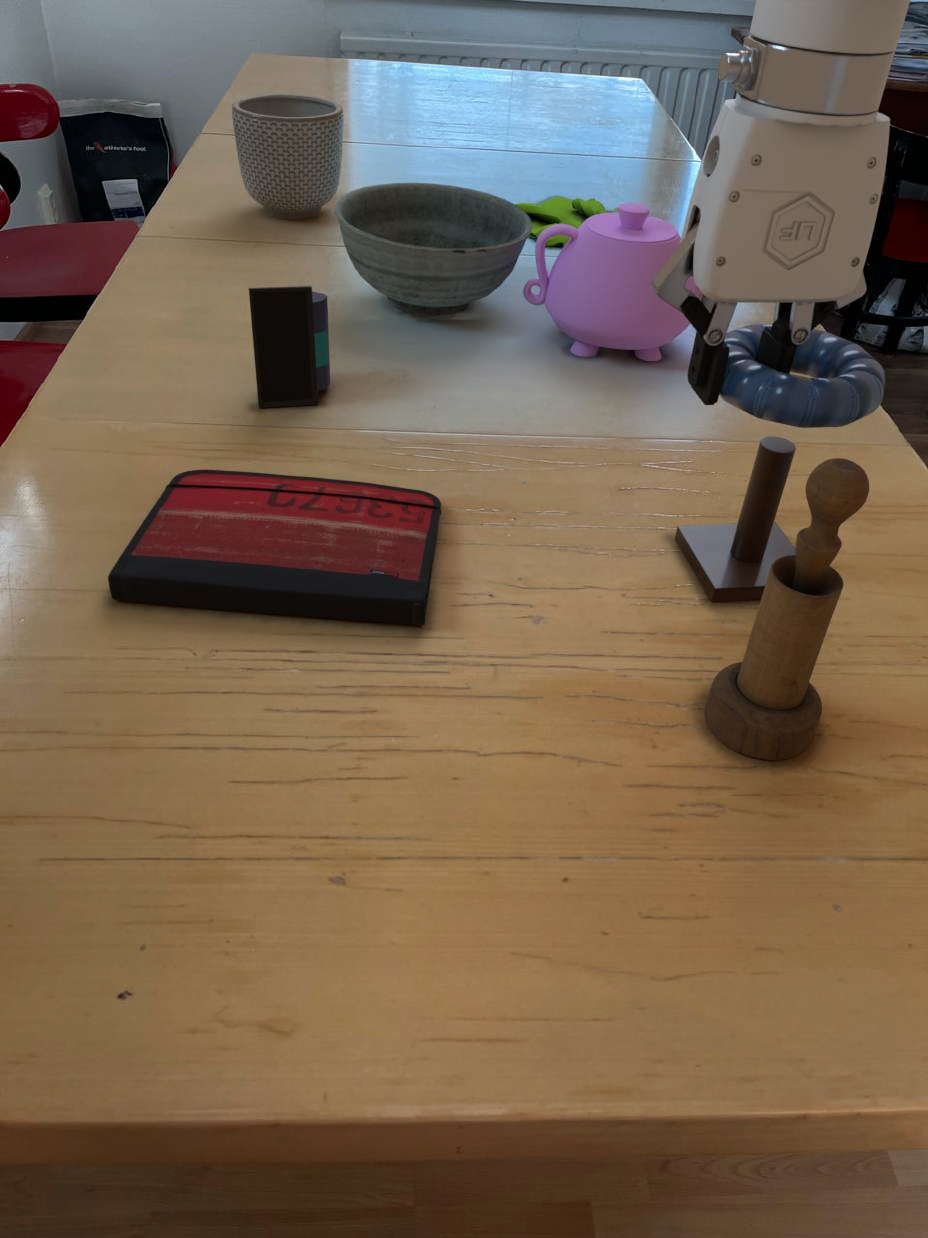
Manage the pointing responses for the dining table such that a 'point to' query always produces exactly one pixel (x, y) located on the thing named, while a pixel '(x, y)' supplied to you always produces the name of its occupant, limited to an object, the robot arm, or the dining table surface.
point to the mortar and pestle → (789, 630)
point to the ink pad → (284, 547)
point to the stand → (744, 532)
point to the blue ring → (803, 381)
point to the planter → (289, 151)
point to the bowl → (431, 243)
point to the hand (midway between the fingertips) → (733, 392)
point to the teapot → (611, 282)
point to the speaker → (290, 345)
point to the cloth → (561, 215)
